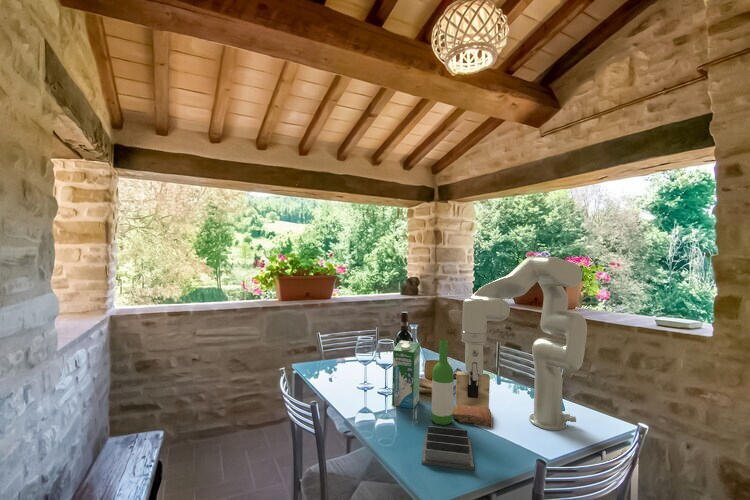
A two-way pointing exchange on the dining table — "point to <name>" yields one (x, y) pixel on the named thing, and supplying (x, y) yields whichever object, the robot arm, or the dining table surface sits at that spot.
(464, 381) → the oak board
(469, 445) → the rack
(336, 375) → the dining table surface
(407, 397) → the milk carton
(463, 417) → the ceramic shard
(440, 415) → the wine bottle
